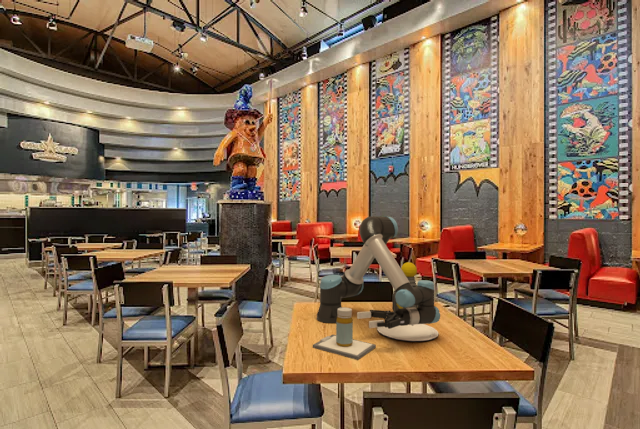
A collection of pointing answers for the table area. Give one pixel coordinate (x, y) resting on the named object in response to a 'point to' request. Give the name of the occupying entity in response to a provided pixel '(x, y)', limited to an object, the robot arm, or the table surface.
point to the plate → (410, 332)
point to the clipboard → (353, 351)
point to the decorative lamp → (409, 272)
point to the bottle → (344, 327)
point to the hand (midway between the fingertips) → (363, 319)
